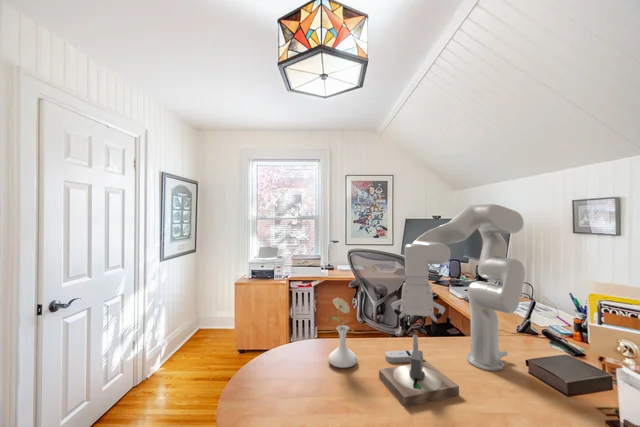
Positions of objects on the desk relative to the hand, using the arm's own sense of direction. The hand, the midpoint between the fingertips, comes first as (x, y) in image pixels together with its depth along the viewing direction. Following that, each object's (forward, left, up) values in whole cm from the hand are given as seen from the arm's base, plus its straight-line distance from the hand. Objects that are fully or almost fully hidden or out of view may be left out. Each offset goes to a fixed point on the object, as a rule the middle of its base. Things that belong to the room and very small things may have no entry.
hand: (417, 330), depth 96 cm
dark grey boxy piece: (+2, +1, -15) cm, 16 cm away
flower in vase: (+19, -22, -19) cm, 35 cm away
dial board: (0, 0, -19) cm, 19 cm away
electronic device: (-6, -17, -19) cm, 26 cm away
